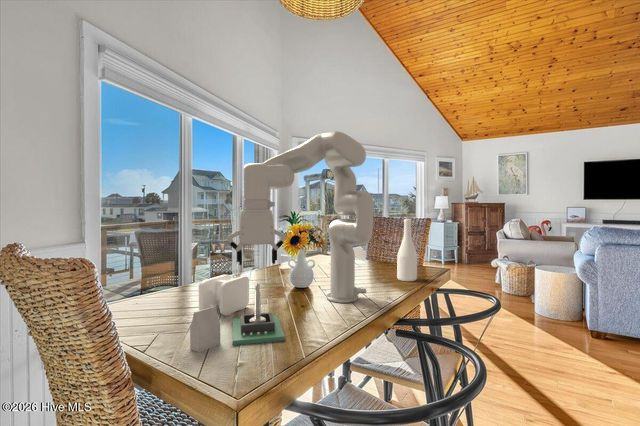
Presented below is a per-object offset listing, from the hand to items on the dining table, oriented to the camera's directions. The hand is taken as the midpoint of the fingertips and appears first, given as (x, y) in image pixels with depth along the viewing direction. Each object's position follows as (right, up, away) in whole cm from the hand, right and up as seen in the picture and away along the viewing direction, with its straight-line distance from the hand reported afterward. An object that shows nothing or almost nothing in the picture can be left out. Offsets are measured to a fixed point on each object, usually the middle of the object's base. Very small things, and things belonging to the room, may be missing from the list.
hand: (257, 263), depth 104 cm
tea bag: (-12, -21, -10) cm, 26 cm away
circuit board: (0, -20, +1) cm, 20 cm away
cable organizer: (-15, -20, +20) cm, 32 cm away
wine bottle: (+62, -18, +69) cm, 94 cm away
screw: (0, -19, +1) cm, 19 cm away
